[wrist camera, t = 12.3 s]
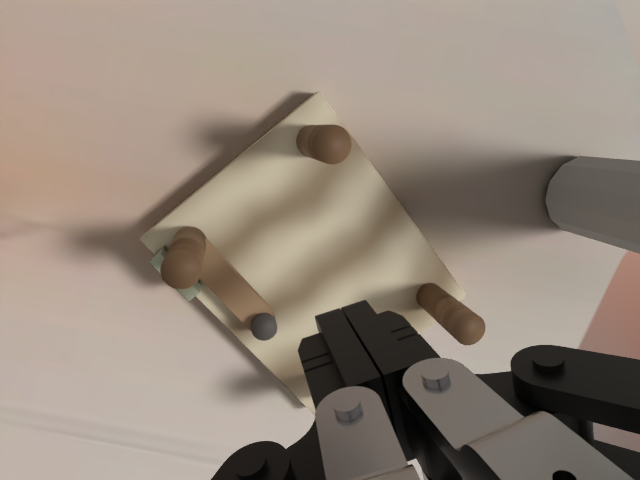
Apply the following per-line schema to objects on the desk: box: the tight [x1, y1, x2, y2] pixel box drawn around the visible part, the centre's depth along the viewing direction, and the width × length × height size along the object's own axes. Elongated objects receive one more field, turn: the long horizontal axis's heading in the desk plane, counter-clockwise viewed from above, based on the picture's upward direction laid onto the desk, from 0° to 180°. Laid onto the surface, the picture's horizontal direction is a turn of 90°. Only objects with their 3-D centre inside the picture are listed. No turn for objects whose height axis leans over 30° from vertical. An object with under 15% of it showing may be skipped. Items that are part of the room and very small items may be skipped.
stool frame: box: [139, 91, 485, 415], centre depth 34 cm, size 22×17×9 cm
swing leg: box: [160, 227, 277, 341], centre depth 31 cm, size 11×2×7 cm, turn 37°
